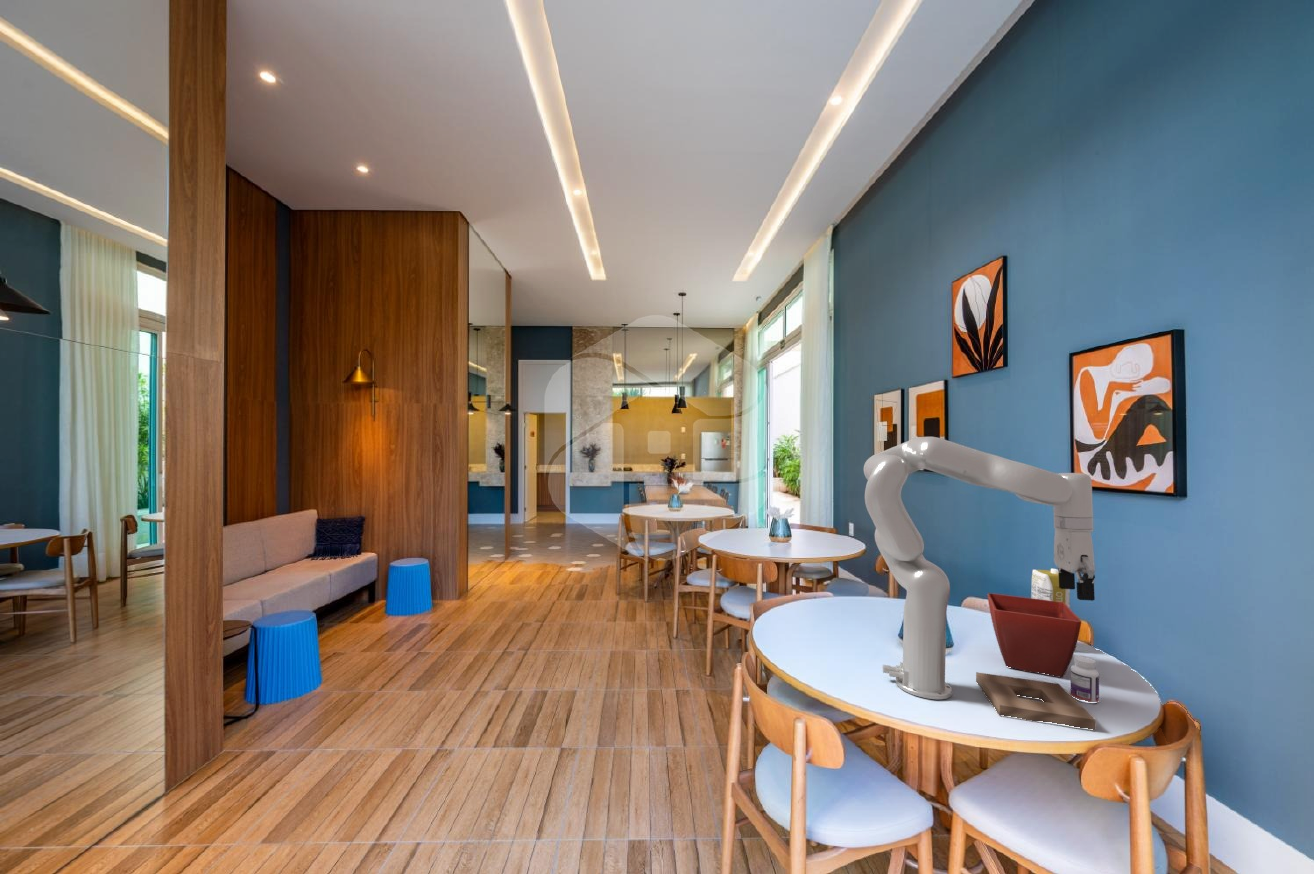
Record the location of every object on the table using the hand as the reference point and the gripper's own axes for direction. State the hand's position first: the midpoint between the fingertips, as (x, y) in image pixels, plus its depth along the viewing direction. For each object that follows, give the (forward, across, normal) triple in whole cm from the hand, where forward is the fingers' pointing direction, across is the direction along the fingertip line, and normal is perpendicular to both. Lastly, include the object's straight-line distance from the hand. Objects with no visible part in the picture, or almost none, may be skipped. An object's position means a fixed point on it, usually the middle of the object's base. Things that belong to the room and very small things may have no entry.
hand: (1076, 594), depth 124 cm
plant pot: (+26, -21, -4) cm, 34 cm away
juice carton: (+27, -41, +8) cm, 50 cm away
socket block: (+25, +6, -12) cm, 29 cm away
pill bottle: (+26, -2, +2) cm, 26 cm away
